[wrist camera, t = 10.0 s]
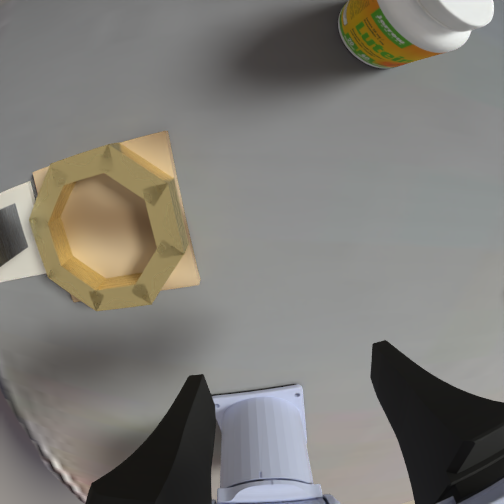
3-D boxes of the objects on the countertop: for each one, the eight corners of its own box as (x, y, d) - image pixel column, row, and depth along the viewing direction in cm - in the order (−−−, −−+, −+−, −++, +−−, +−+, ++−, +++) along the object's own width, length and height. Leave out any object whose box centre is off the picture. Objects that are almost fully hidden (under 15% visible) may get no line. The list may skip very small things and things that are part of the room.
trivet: (56, 269, 21) (54, 271, 21) (1, 280, 21) (-2, 282, 21) (30, 180, 18) (27, 181, 18) (-24, 204, 19) (-27, 205, 18)
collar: (199, 285, 21) (196, 298, 19) (73, 302, 21) (63, 314, 20) (165, 130, 17) (157, 130, 16) (32, 172, 18) (17, 176, 16)
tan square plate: (200, 279, 22) (198, 285, 21) (77, 297, 22) (73, 302, 21) (167, 130, 18) (165, 130, 17) (38, 170, 18) (32, 172, 18)
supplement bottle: (324, 45, 16) (390, -13, 7) (350, -15, 15) (415, -84, 6) (397, 84, 17) (497, 67, 8) (418, 24, 15) (509, -12, 6)
